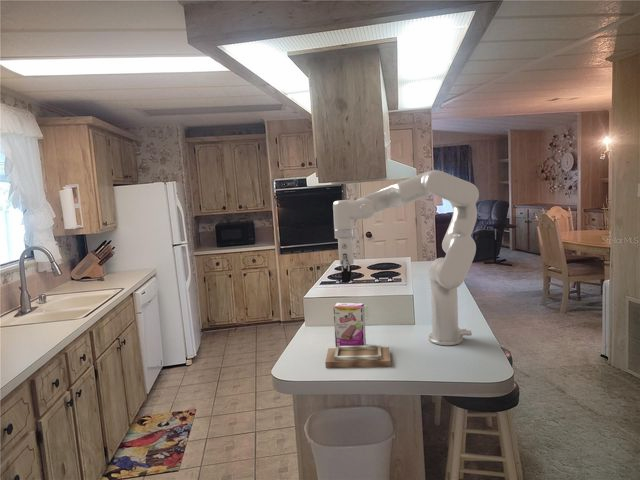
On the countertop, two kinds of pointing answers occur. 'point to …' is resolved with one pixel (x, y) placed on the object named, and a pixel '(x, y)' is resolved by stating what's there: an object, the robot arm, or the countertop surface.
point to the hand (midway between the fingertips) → (346, 278)
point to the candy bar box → (349, 324)
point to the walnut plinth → (358, 356)
